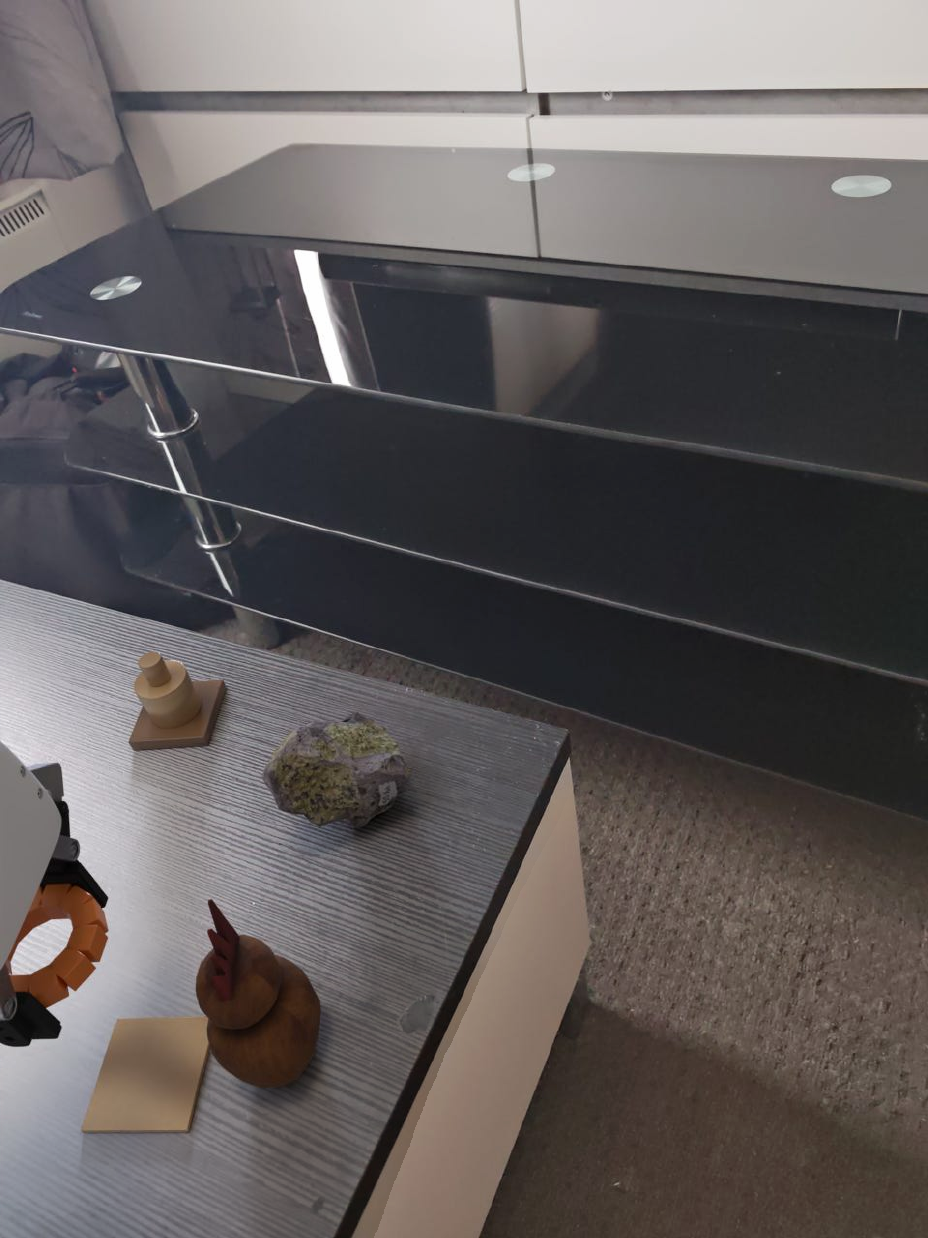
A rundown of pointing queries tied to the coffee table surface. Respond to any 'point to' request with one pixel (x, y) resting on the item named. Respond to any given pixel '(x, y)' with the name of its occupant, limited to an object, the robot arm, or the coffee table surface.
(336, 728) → the rock
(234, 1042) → the wooden figurine
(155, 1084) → the coaster
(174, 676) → the post
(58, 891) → the ring
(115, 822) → the coffee table surface
